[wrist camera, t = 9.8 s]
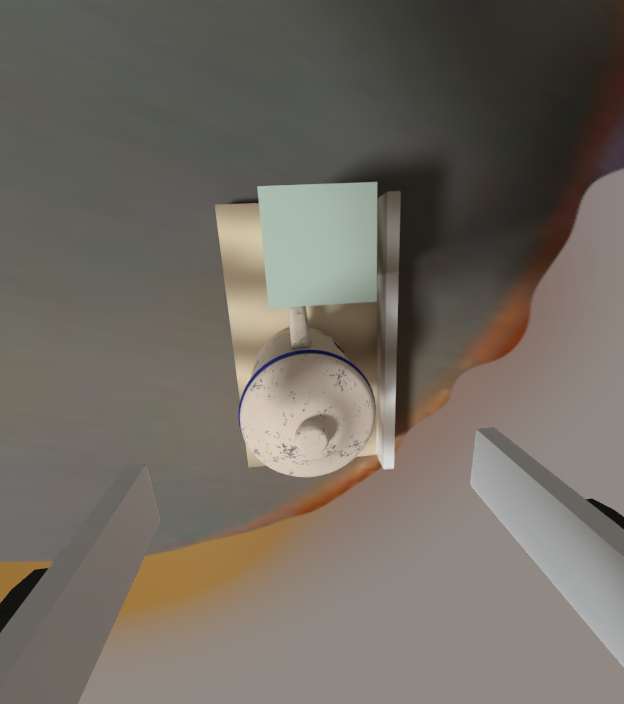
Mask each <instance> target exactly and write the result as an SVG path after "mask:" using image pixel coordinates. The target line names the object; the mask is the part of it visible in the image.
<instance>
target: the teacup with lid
mask: <svg viewBox="0 0 624 704" xmlns="http://www.w3.org/2000/svg"><path fill="white" fill-rule="evenodd" d="M287 310H288V319H289V328H290V329H287V330H284V331H282V332H280V333H278V334H276V335H274V336H273V337H272V338H270V339H269V340H268V341H267V342H266V343H265V344H264V345H263V347H262V348H261V350H260V351H259V353H258V355H257V357H256V360H255V364H254V367H253V371H252V375H251V378H250V380H249V382H248V384H247V385H246V387H245V389H244V391H243V394H242V397H241V400H240V405H239V425H240V429H241V432H242V435H243V438H244V440H245V442H246V444H247V446H248V447H249V449H250V450H251V452H252V453H253V454H254V455H255V456H256V457H257V458H258V459H259V460H260V461H261V462H262V463H264V464H265V465H266V466H268V467H270V468H271V469H273V470H275V471H277V472H280V473H283V474H286V475H290V476H296V477H314V476H320V475H324V474H328V473H331V472H333V471H335V470H338V469H340V468H341V467H343V466H345V465H346V464H348V463H349V462H350V461H352V460H353V459H354V458H355V457H356V456H357V455H358V454H359V453H360V452H361V451H362V449H363V448H364V446H365V445H366V443H367V442H368V440H369V438H370V436H371V433H372V430H373V427H374V423H375V414H376V405H375V398H374V394H373V391H372V388H371V386H370V384H369V382H368V380H367V379H366V377H365V376H364V375H363V373H362V372H361V371H360V370H359V369H358V368H357V367H356V366H355V365H354V364H352V363H351V361H350V360H349V358H348V357H347V355H346V354H345V352H344V351H343V349H342V348H341V347H340V345H339V344H338V343H337V342H336V341H335V340H334V339H333V338H332V337H330V336H329V335H327V334H326V333H324V332H322V331H319V330H317V329H313V328H308V319H307V311H306V306H300V307H287Z"/></svg>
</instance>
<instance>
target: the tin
mask: <svg viewBox="0 0 624 704" xmlns="http://www.w3.org/2000/svg"><path fill="white" fill-rule="evenodd" d="M257 188H258V199H259V210H260V221H261V232H262V243H263V253H264V264H265V275H266V286H267V297H268V308H285V307H300V306H316V305H331V304H347V303H362V302H377V182H362V183H335V184H308V185H281V186H257Z"/></svg>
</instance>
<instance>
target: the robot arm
mask: <svg viewBox="0 0 624 704" xmlns="http://www.w3.org/2000/svg"><path fill="white" fill-rule="evenodd" d="M470 485H471V487H472V488H473V489H474V490H475V491H476V493H477V494H478V495H479V496H480V497H481V499H483V501H484V502H485V503H486V504H487V505H488V507H489V508H490V509H491V510H492V512H493V513H494V514H495V515H496V516H497V518H498V519H499V520H500V521H501V522H502V523H503V524H504V526H505V527H506V528H507V529H508V531H509V532H510V533H511V534H512V535H513V537H514V538H515V539H516V540H517V541H518V542H519V544H520V545H521V546H522V547H523V548H524V550H525V551H526V552H527V553H528V554H529V556H530V557H531V558H532V559H533V560H534V561H535V563H536V564H537V565H538V566H539V567H540V569H541V570H542V571H543V572H544V573H545V575H546V576H547V577H548V578H549V579H550V580H551V582H552V583H553V584H554V585H555V586H556V588H557V589H558V590H559V591H560V592H561V593H562V595H563V596H564V597H565V598H566V599H567V601H568V602H569V603H570V604H571V605H572V607H573V608H574V609H575V610H576V611H577V612H578V614H579V615H580V616H581V617H582V618H583V620H584V621H585V622H586V623H587V624H588V626H589V627H590V628H591V629H592V630H593V632H594V633H595V634H596V635H597V636H598V637H599V639H600V640H601V641H602V642H603V643H604V645H605V646H606V647H607V648H608V649H609V651H610V652H611V653H612V654H613V655H614V656H615V658H616V659H617V660H618V661H619V662H620V663H621V664H622V666H623V667H624V517H623V516H622V515H620V514H619V513H618V512H616V511H615V510H613V509H611V508H609V507H607V506H605V505H604V504H601V503H600V502H597V501H596V500H594V499H584V498H583V497H582V496H580V495H579V494H578V493H577V492H575V491H574V490H573V489H572V488H570V487H569V486H568V485H566V484H565V483H564V482H563V481H561V480H560V479H559V478H558V477H556V476H555V475H554V474H553V473H551V472H550V471H549V470H547V469H546V468H545V467H544V466H542V465H541V464H540V463H539V462H537V461H536V460H535V459H533V458H532V457H531V456H529V455H528V454H527V453H526V452H525V451H523V450H522V449H521V448H519V447H518V446H517V445H516V444H514V443H513V442H512V441H511V440H509V439H508V438H507V437H505V436H504V435H503V434H502V433H500V432H499V431H498V430H497V429H495V428H484V429H477V430H476V437H475V446H474V455H473V463H472V472H471V481H470ZM160 522H161V521H160V517H159V512H158V508H157V504H156V500H155V496H154V492H153V488H152V484H151V480H150V476H149V471H148V467H147V463H145V464H135V465H125V467H124V468H123V469H122V471H121V472H120V473H119V475H118V476H117V477H116V479H115V480H114V481H113V483H112V484H111V485H110V487H109V488H108V490H107V491H106V492H105V494H104V495H103V496H102V498H101V499H100V500H99V502H98V503H97V504H96V506H95V507H94V508H93V510H92V511H91V512H90V514H89V515H88V516H87V518H86V519H85V520H84V522H83V523H82V524H81V526H80V527H79V528H78V530H77V531H76V532H75V534H74V535H73V536H72V538H71V539H70V540H69V542H68V543H67V544H66V546H65V547H64V548H63V550H62V551H61V552H60V554H59V555H58V556H57V558H56V559H55V560H54V562H53V563H52V564H51V566H50V567H49V568H45V569H38V570H34V571H33V572H32V573H30V574H29V575H28V576H27V577H26V578H25V579H23V580H22V581H21V582H20V583H19V584H18V585H16V586H15V587H14V588H13V589H12V590H11V591H10V592H9V593H8V595H7V596H6V597H5V598H4V600H3V601H2V602H1V603H0V704H78V702H79V700H80V698H81V695H82V693H83V691H84V689H85V687H86V684H87V682H88V680H89V678H90V675H91V673H92V671H93V669H94V667H95V665H96V662H97V660H98V658H99V656H100V654H101V651H102V649H103V647H104V645H105V643H106V640H107V638H108V636H109V634H110V631H111V629H112V627H113V625H114V623H115V621H116V618H117V616H118V614H119V612H120V610H121V607H122V605H123V603H124V601H125V599H126V596H127V594H128V592H129V590H130V588H131V585H132V583H133V581H134V579H135V577H136V574H137V572H138V570H139V568H140V566H141V563H142V561H143V559H144V557H145V555H146V552H147V550H148V548H149V546H150V544H151V541H152V539H153V537H154V535H155V533H156V530H157V528H158V526H159V524H160Z"/></svg>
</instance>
